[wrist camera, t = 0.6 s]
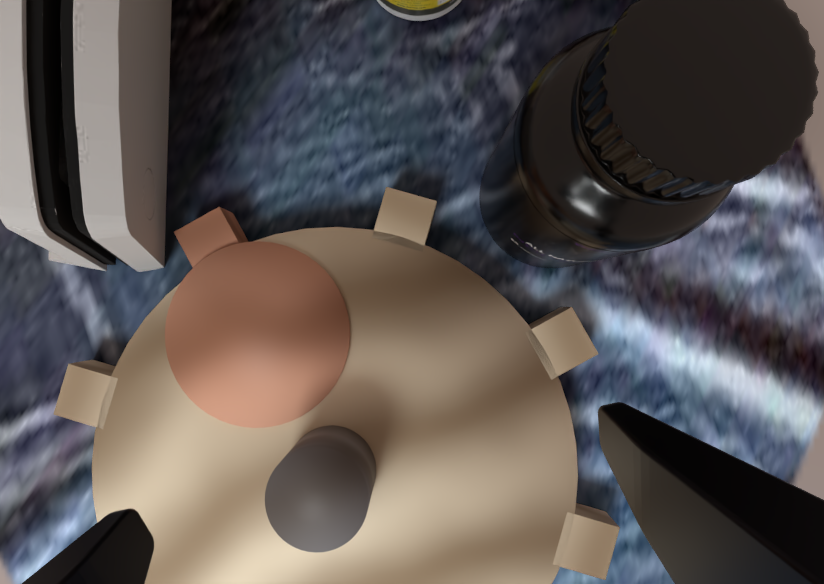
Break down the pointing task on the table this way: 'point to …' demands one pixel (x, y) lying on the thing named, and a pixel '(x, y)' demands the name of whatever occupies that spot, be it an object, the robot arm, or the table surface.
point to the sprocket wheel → (342, 416)
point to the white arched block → (86, 128)
